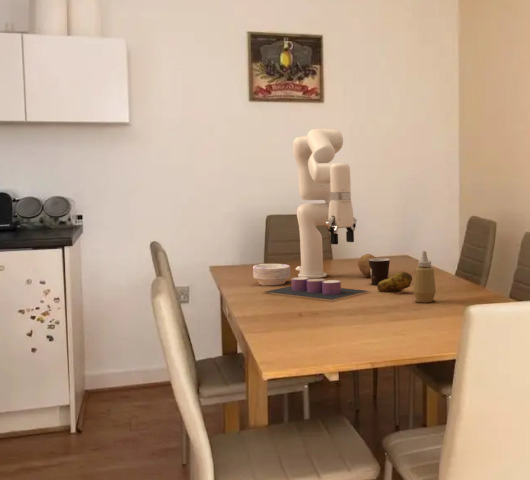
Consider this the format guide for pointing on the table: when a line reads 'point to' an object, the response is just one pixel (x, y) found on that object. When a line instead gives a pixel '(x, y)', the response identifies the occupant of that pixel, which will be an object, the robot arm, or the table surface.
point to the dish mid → (314, 285)
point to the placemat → (316, 295)
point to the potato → (395, 282)
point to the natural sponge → (365, 264)
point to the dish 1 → (299, 283)
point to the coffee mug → (379, 269)
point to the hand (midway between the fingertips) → (342, 243)
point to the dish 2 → (331, 287)
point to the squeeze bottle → (424, 281)
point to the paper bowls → (271, 273)
